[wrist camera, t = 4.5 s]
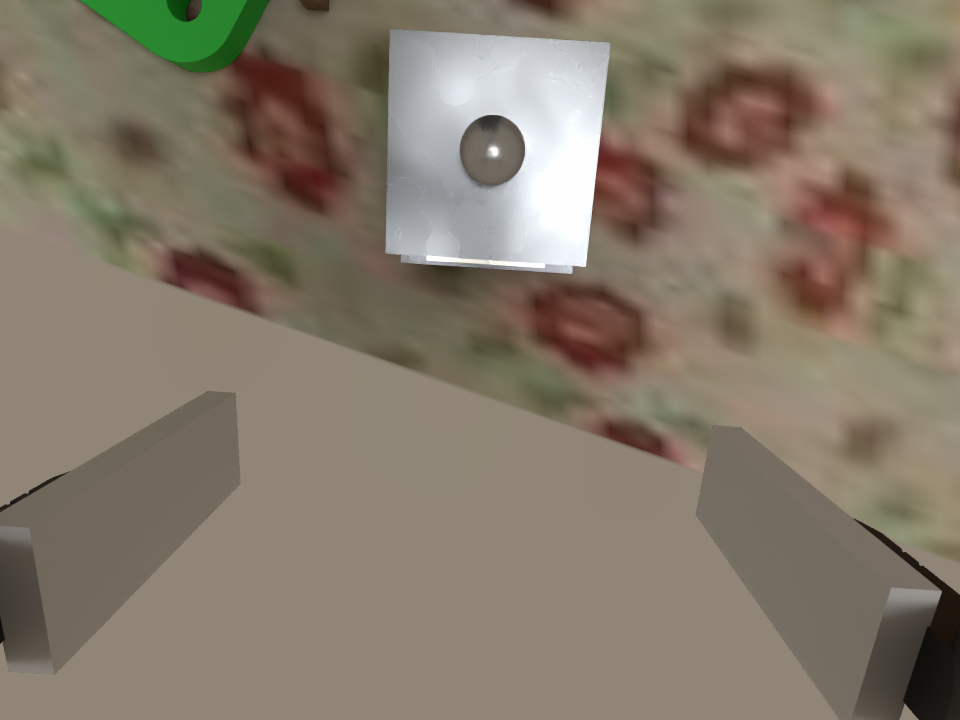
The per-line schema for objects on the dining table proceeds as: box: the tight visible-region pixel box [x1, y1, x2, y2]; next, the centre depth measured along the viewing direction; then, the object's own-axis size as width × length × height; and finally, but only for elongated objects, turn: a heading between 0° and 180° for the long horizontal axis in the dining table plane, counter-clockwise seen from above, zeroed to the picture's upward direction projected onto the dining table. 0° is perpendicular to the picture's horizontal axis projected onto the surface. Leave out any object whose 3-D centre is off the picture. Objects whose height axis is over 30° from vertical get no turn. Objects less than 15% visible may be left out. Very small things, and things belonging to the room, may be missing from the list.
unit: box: [386, 29, 610, 274], centre depth 25 cm, size 10×10×11 cm
